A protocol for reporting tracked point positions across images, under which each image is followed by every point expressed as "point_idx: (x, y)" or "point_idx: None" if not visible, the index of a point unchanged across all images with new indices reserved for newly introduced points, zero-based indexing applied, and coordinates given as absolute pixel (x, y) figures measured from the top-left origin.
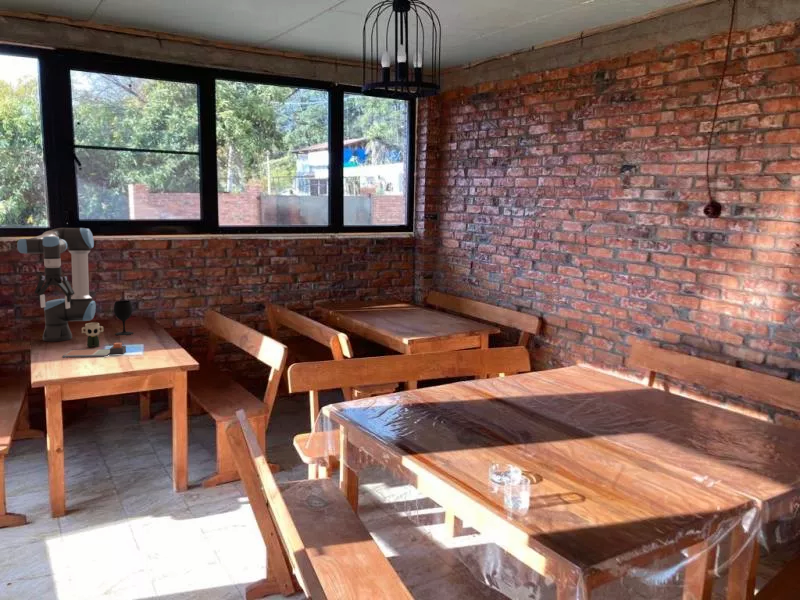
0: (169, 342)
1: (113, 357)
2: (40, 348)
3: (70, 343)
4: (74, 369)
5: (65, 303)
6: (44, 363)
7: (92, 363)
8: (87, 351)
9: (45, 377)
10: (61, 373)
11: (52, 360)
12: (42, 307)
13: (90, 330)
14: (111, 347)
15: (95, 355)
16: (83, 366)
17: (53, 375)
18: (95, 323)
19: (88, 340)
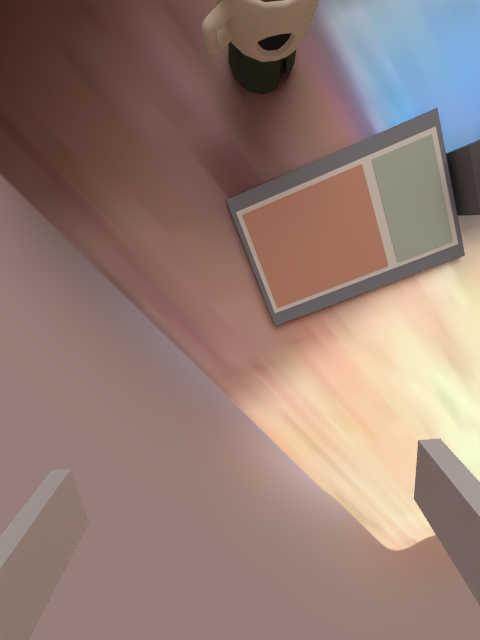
0: None
1: None
2: (38, 194)
3: (75, 19)
4: None
5: (465, 576)
6: (271, 409)
7: (451, 364)
8: (331, 216)
9: (393, 531)
10: None
11: (267, 367)
12: (86, 519)
13: (283, 33)
14: (477, 187)
15: (411, 271)
16: (440, 408)
17: (404, 512)
18: None
19: (252, 69)
